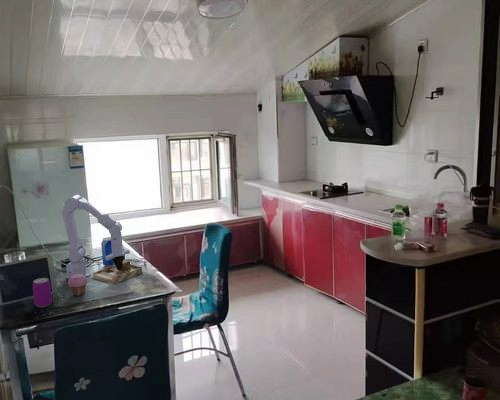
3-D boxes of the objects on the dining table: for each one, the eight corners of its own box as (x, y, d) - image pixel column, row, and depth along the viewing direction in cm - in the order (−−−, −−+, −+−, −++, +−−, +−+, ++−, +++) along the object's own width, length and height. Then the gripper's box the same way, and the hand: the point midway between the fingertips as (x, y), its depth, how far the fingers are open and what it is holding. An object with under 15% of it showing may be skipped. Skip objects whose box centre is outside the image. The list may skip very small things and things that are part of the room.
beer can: (109, 268, 281) (107, 241, 278) (100, 266, 286) (97, 239, 283) (121, 264, 288) (119, 237, 285) (112, 262, 293) (109, 235, 290)
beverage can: (55, 301, 237) (52, 277, 235) (48, 307, 229) (45, 283, 227) (39, 301, 237) (36, 277, 235) (31, 308, 230) (28, 283, 227)
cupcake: (79, 298, 239) (77, 278, 237) (65, 296, 243) (63, 276, 241) (92, 292, 247) (90, 272, 245) (78, 289, 251) (76, 270, 249)
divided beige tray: (113, 283, 258) (112, 277, 257) (93, 277, 267) (93, 271, 267) (142, 272, 273) (141, 266, 273) (122, 267, 283) (122, 261, 282)
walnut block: (124, 271, 270) (123, 263, 270) (118, 269, 273) (118, 261, 272) (130, 268, 274) (130, 261, 273) (125, 267, 277) (124, 259, 276)
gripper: (110, 249, 260) (112, 274, 262) (132, 243, 271) (134, 267, 274) (102, 247, 264) (104, 272, 266) (123, 241, 275) (125, 264, 278)
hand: (119, 269), depth 270 cm, fingers closed
